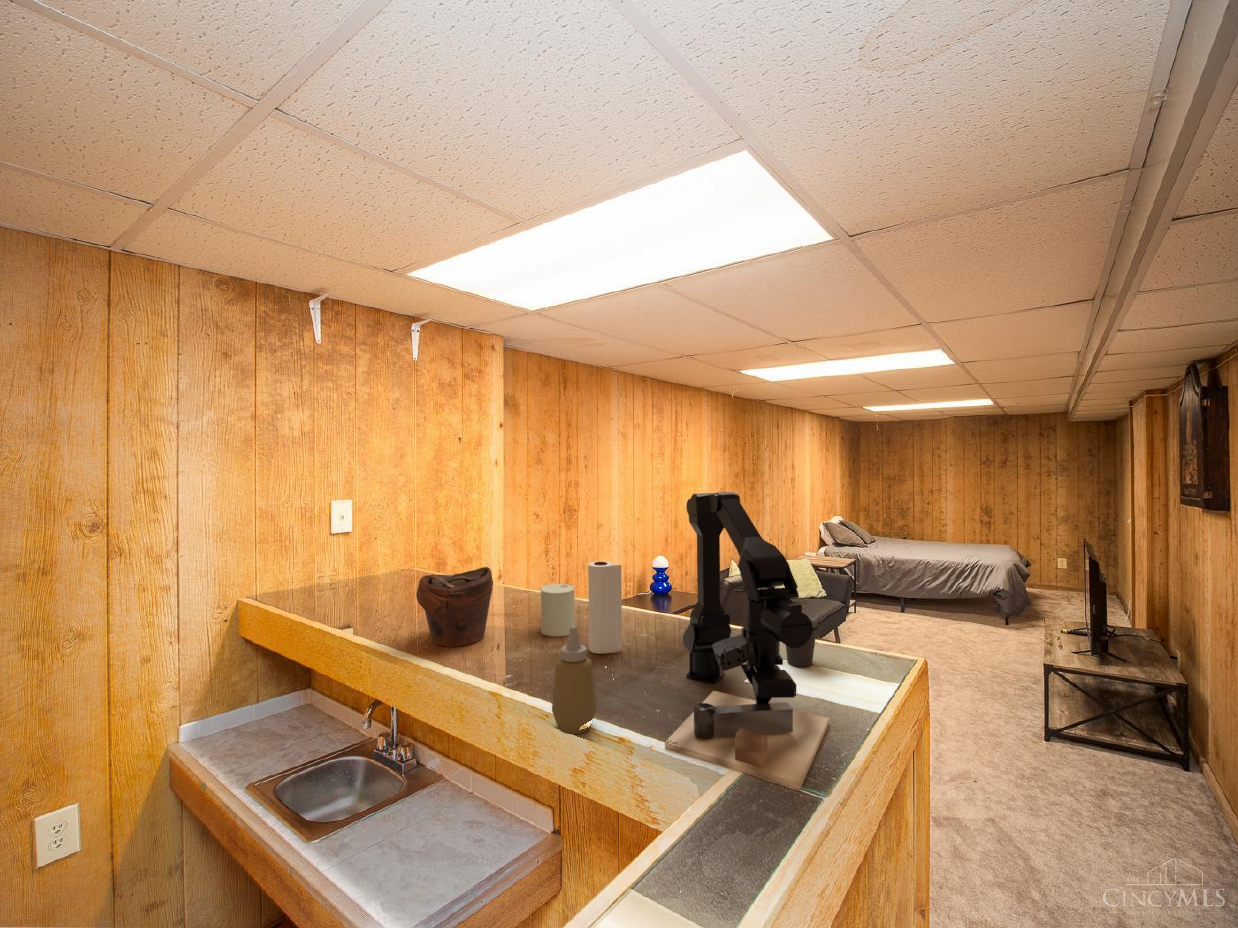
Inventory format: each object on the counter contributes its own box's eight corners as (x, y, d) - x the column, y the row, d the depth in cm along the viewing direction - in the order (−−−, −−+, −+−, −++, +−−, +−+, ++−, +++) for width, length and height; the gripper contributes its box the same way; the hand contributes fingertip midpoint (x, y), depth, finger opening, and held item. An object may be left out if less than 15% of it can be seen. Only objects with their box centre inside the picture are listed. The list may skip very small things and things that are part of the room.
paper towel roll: (583, 649, 138) (583, 562, 137) (603, 643, 142) (602, 559, 141) (602, 658, 132) (601, 567, 131) (622, 651, 136) (621, 564, 135)
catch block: (735, 759, 89) (735, 734, 89) (740, 752, 91) (740, 728, 91) (762, 768, 87) (762, 742, 86) (767, 760, 89) (767, 735, 89)
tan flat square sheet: (664, 748, 94) (664, 742, 94) (713, 695, 113) (713, 690, 113) (799, 789, 83) (799, 783, 83) (828, 723, 102) (829, 718, 102)
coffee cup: (773, 660, 131) (773, 617, 130) (799, 654, 134) (800, 612, 134) (799, 673, 123) (800, 628, 123) (826, 666, 127) (826, 622, 127)
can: (582, 628, 153) (581, 584, 152) (561, 639, 145) (560, 593, 145) (555, 622, 158) (555, 580, 157) (533, 632, 150) (533, 588, 150)
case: (400, 643, 143) (400, 573, 142) (463, 622, 159) (462, 559, 158) (448, 659, 133) (447, 584, 132) (508, 635, 149) (509, 568, 148)
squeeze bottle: (602, 734, 98) (601, 633, 98) (556, 742, 96) (555, 638, 95) (591, 713, 106) (590, 618, 105) (548, 719, 104) (547, 623, 103)
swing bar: (696, 739, 94) (696, 713, 94) (691, 728, 97) (691, 703, 97) (794, 733, 96) (794, 708, 95) (785, 723, 99) (785, 698, 99)
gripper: (707, 606, 107) (705, 685, 108) (728, 647, 88) (726, 742, 90) (765, 606, 107) (763, 685, 109) (799, 647, 89) (795, 741, 90)
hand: (760, 711), depth 99 cm, fingers closed
